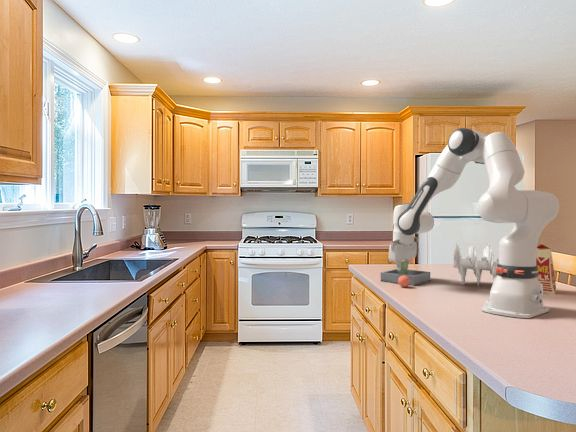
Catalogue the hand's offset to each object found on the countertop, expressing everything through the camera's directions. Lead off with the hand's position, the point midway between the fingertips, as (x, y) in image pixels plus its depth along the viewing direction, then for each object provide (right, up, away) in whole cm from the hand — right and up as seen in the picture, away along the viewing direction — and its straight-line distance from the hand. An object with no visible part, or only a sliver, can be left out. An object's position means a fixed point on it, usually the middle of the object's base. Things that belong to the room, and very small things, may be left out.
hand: (402, 269), depth 189 cm
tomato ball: (-4, -5, -16) cm, 17 cm away
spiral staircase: (+31, -5, -13) cm, 34 cm away
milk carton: (+49, -6, -24) cm, 55 cm away
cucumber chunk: (0, -2, 0) cm, 2 cm away
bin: (+1, -5, -2) cm, 5 cm away
